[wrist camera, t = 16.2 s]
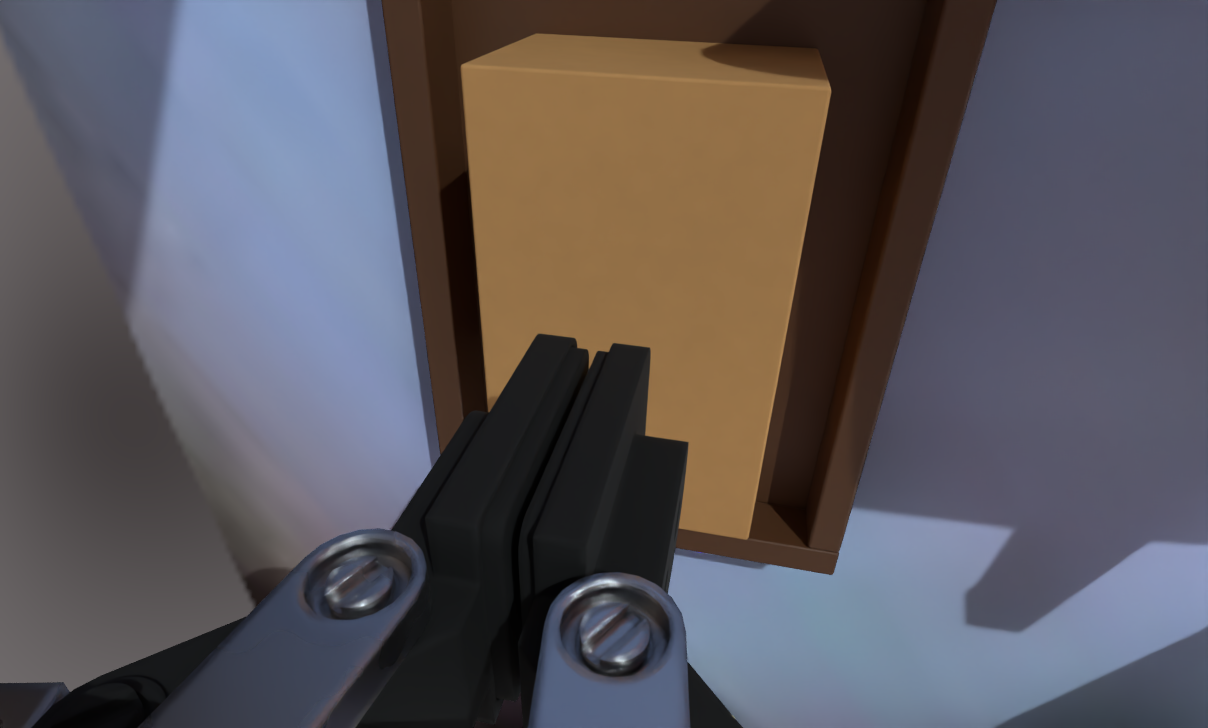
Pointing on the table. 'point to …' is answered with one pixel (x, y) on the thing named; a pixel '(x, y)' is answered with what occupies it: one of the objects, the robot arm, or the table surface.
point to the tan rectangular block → (650, 227)
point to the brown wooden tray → (832, 238)
